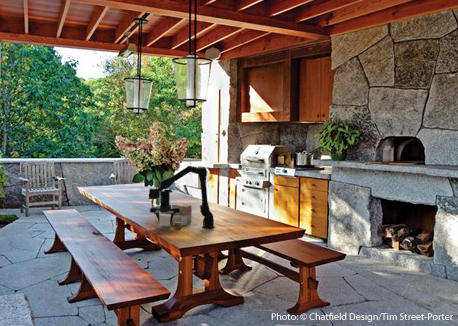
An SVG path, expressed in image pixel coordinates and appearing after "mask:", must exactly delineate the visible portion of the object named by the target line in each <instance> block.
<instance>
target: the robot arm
mask: <svg viewBox="0 0 458 326" xmlns="http://www.w3.org/2000/svg"><path fill="white" fill-rule="evenodd" d="M189 173H192V174H195V175H198V178H199V182H200V192H201V195H200V196H201V201H202V202H201V204H199V209H200V210H199V212H200V213H201V215H202V217H203V220H202V226H201V228H202V229H209V230H210V229H214V228H216V225H215V224H214V223H215V220H214V219H215V218H214V214H213V213H212V211H211V210H210V206H209V201H208V191H207V189H208V188H207V175H208V171H207V169H206V167H204V166H201V167H197V166H192V165H187V166H186V167H185V168H183V169H181V170H180V171H179V172H177V173H175V174H174V175H173V176H170V177H167V178H165V179H163V180H161V182H160V186H159V187H158V188H149V192H148V200H158V199H160V205H159V207H158V206H151V207H150V209H149V213H151V214H152V213H153V214H154V215H155V216H156V218H157V221H158V222H159V218H160V214H162V212H165V213H167V212H168V211H172V213H171V219H170V223H172V222H171V221H172V218H173V215H174V214H176V213H179V212H180V208H179V207H174V208H171V207H172V204H170V200H171V198H170V196H171V195H170V193H173V190H172V189H171V188H170V187H171V186H172V185H173V184H174V183H175V182H177V181H179V180H180V179H181V178H183V177H184V176H186V175H188V174H189ZM214 225H215V226H214Z"/></svg>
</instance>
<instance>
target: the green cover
mask: <svg viewBox="0 0 458 326" xmlns="http://www.w3.org/2000/svg"><path fill="white" fill-rule="evenodd" d="M175 222H181V227H183V226H186V225H188V223H187V215H179V214H178V215H175V216H173V222H172V225H173V226H175Z"/></svg>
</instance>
